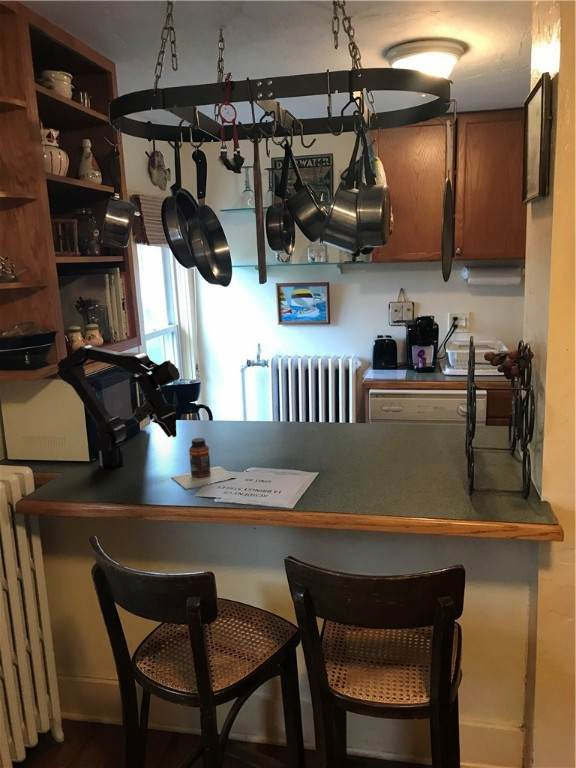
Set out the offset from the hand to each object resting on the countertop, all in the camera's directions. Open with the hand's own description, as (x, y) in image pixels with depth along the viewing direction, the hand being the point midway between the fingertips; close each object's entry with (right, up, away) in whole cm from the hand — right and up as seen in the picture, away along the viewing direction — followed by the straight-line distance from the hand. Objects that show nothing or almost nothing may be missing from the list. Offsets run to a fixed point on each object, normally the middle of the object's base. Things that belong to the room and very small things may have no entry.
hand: (172, 436), depth 194 cm
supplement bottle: (+10, -11, -6) cm, 16 cm away
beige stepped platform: (+11, -12, -8) cm, 18 cm away
